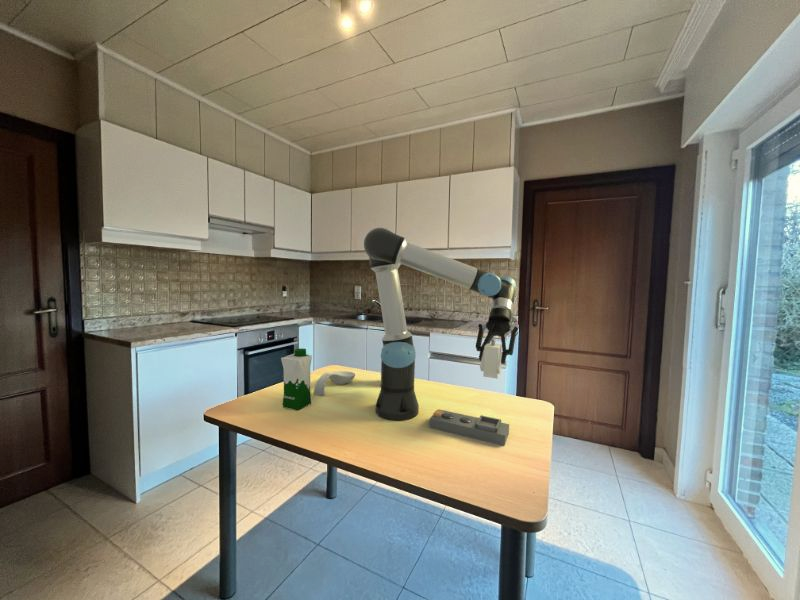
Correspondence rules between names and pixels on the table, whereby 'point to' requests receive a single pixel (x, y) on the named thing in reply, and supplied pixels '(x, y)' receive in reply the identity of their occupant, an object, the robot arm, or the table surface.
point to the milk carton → (296, 380)
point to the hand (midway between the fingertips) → (489, 370)
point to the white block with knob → (491, 359)
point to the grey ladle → (333, 380)
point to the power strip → (471, 426)
